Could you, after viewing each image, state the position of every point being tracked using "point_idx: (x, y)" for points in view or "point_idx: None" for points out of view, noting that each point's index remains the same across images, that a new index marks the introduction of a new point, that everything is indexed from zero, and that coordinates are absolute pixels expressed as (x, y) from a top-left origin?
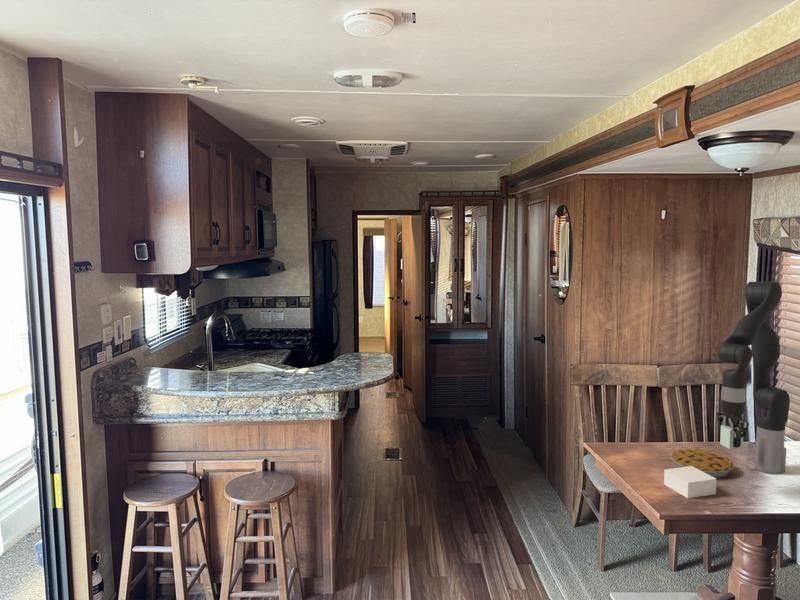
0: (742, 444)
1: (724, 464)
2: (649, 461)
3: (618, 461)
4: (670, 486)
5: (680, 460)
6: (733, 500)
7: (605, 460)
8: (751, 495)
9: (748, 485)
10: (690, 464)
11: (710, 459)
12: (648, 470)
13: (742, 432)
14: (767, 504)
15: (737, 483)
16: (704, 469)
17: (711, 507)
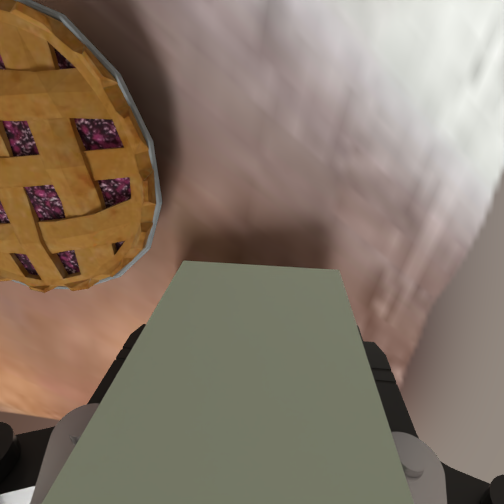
0: (346, 295)
1: (82, 99)
2: (3, 311)
3: (22, 389)
4: None
5: (45, 277)
6: (366, 250)
7: (21, 413)
8: (351, 142)
9: (250, 66)
10: (91, 267)
11: (12, 130)
12: (88, 354)
13: (398, 473)
14: (451, 138)
15: (220, 108)
16: (144, 242)
17: (383, 347)
